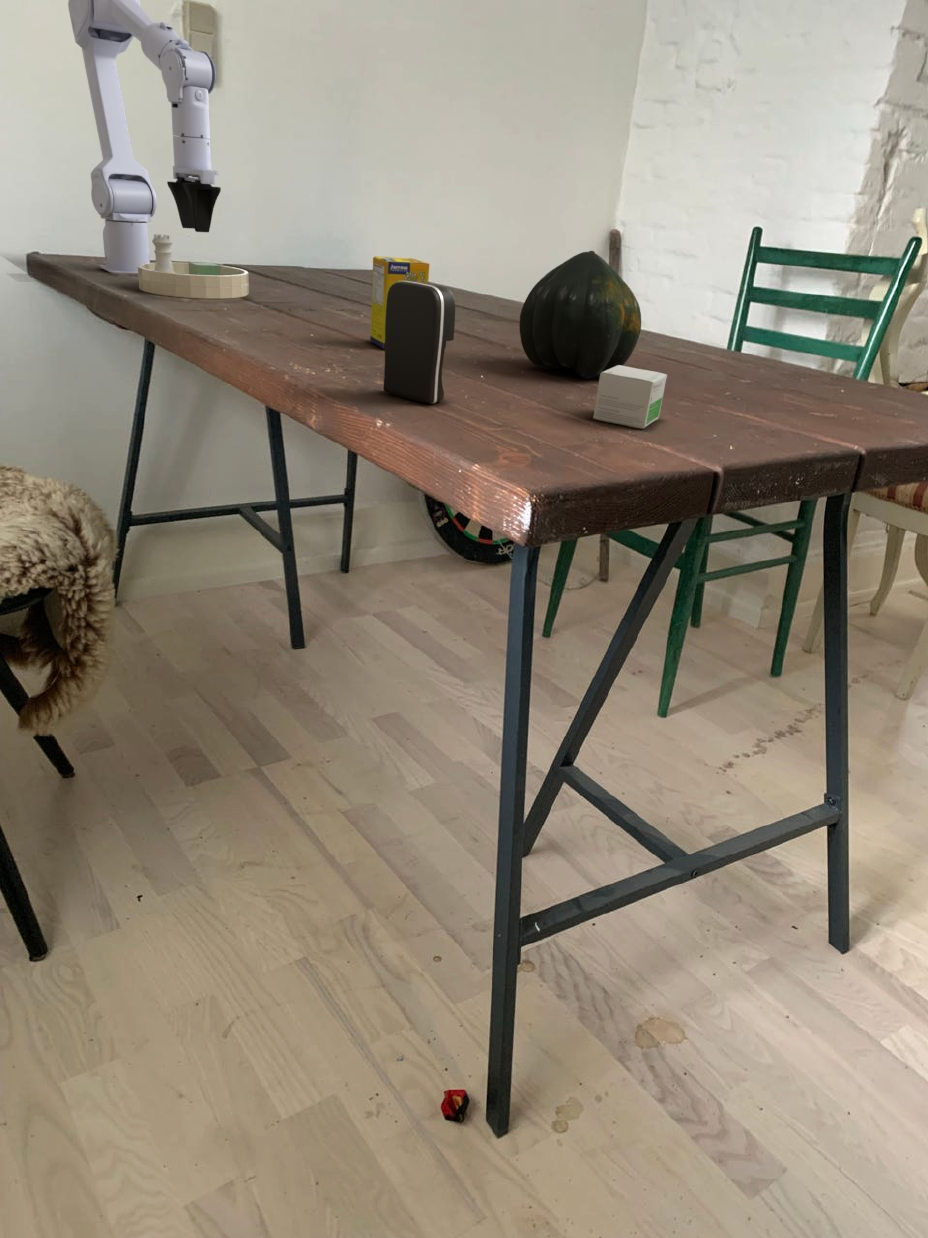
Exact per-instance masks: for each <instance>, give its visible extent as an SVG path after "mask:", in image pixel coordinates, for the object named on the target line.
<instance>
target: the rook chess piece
mask: <svg viewBox="0 0 928 1238" xmlns="http://www.w3.org/2000/svg"><path fill="white" fill-rule="evenodd" d="M151 242H152V244H153V246H154V251H153V252H154V255H155V262H154V263H155V270H154V271H160V272H168V273H175V272H174V270H173V266H172V262H173V261H172V253H173V251H172V250H171V249H172V248H171V247H172V245H173V243H174V241H173V240H172V239H171V235H169V234H168V235H167V234H163V236H162V234H153V239H152V240H151Z"/></svg>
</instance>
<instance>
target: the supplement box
mask: <svg viewBox="0 0 928 1238" xmlns="http://www.w3.org/2000/svg"><path fill="white" fill-rule="evenodd" d="M429 277H430V263H428V262H425V261H422V260H419V259H416V258H411V257H393V256H379V255H376V256H373V257H372V281H371V287H372V288H371V311H370V313H371V315H370V337H369V341H370V342H372V344H374V345H376V346H378V347H380V348H381V349H382V350H385V319H386V303H387V294H388V291H389V288H390V287H391V286H392V284H394V283H396V282H398V281H410V282H413V281H415V282H422V283H429Z"/></svg>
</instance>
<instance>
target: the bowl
mask: <svg viewBox="0 0 928 1238" xmlns="http://www.w3.org/2000/svg"><path fill="white" fill-rule="evenodd" d="M172 266H173V270H174V272H175V273H168V272H160V271H154V270H155V262H150V263H144V264H140V265H138V273H137V277H138V288H139V290H140V291H142V292H144V293H148V294H152V295H158V296H164V297H171V298H172V297H173V298H185V299H205V300H206V299H207V300H208V299H209V300H210V299H211V300H219V299H220V300H224V299H237V298H244V297H247V296H248V295H249V294H250V284H249V283H250V282H249V281H250V280H249V279H250V278H249V275H250V274H249V271H248V270H245V269H242V268H238V267H233V266H227V265H220V270H221V276H215V275H189V262H175V261H172Z"/></svg>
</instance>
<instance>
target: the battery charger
mask: <svg viewBox="0 0 928 1238" xmlns="http://www.w3.org/2000/svg"><path fill="white" fill-rule="evenodd" d="M455 324H456V299H455V295H454V294H453V292H452V291H451V290H450V289H449V288H447V287H446V286H442V285H439V284H433V283H429V282H428V283H422V282H415V281H413V282H410V281H398V282H396V283H394V284H392V286H391V287H390V288H389V291H388V294H387V303H386V319H385V349H384V371H383V391H384V392H385V393H388V394H391V395H393V396H397V397H401V398H404V399H407V400H412V401H415V402H421V403H425V404H426V403H427V404H436V403H438V402H441V401H443V400H444V397H445V391H444V387H443V365H444V358H445V349H446V348H447V342H450V341H451V342H452V341H454V340H455V339H454V337H455V328H456V327H455V326H456V325H455Z"/></svg>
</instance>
